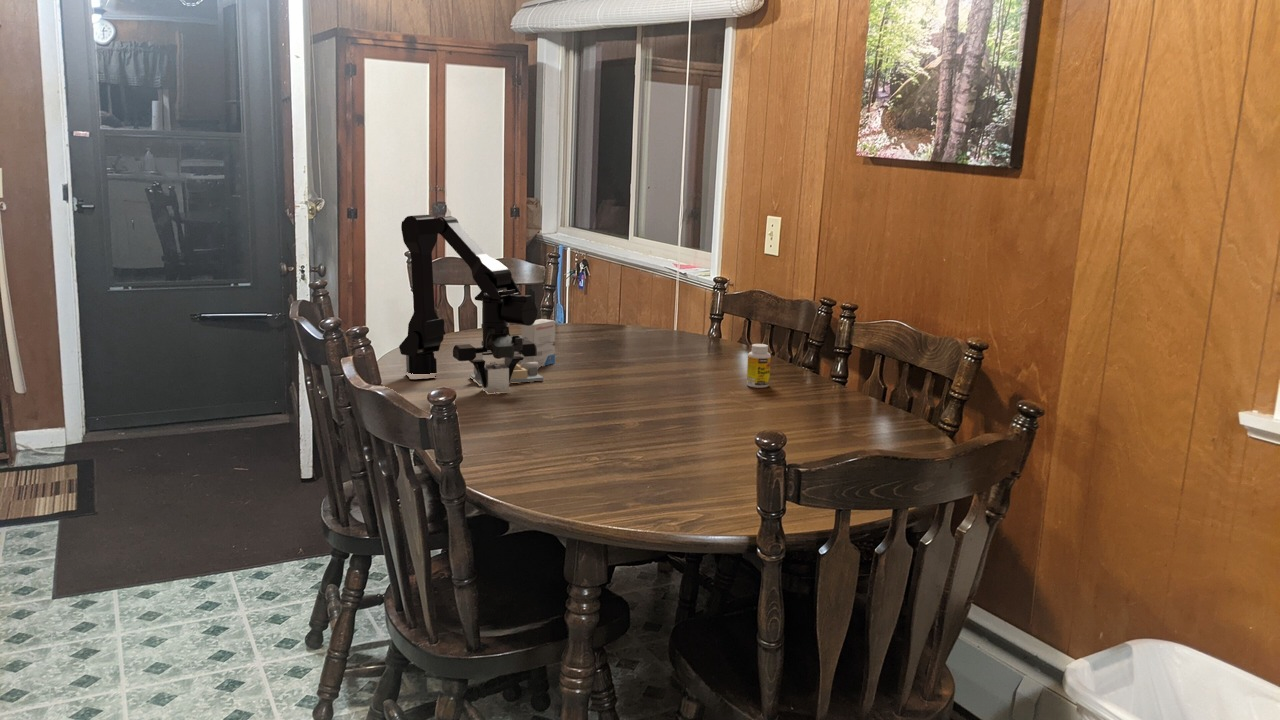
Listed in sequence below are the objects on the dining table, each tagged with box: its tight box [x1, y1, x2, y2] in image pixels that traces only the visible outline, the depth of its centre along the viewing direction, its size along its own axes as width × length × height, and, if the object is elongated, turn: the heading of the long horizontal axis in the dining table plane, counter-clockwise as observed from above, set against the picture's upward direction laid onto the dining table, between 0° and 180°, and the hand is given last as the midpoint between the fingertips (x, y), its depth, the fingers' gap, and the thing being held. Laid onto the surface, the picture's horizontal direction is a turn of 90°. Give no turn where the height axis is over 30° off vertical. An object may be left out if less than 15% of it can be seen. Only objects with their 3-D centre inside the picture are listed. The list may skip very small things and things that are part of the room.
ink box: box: [520, 318, 556, 367], centre depth 262 cm, size 9×5×12 cm, turn 143°
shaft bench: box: [469, 362, 544, 384], centre depth 246 cm, size 16×9×4 cm, turn 115°
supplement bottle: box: [746, 343, 772, 389], centre depth 245 cm, size 6×6×10 cm
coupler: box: [481, 361, 510, 393], centre depth 233 cm, size 5×5×7 cm
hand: (495, 386), depth 234 cm, fingers closed on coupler, 5 cm apart
